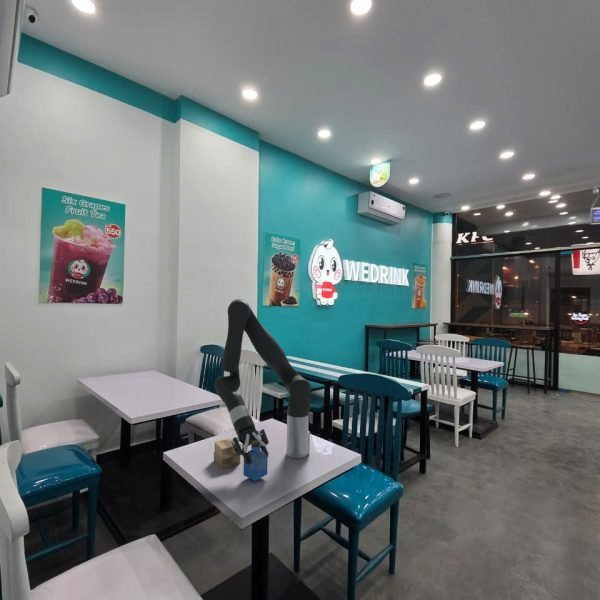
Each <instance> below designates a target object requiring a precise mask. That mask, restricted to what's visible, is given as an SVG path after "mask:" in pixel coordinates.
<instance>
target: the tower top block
mask: <svg viewBox="0 0 600 600" xmlns="http://www.w3.org/2000/svg"><path fill="white" fill-rule="evenodd" d="M233 438H234V437H230V438H226V439H221V440H217V441H214V451H213V453H214V452H215V453H216V454H217V455H218V456H219V457H220V458H221V459H225V458H229V457H233V456H237V454H236V452H235V449H234V447H233V445H232V443H231V441H232V440H233ZM239 445H240V447H241V448H242V443H241V442H240V443H239Z"/></svg>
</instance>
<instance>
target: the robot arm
mask: <svg viewBox="0 0 600 600" xmlns="http://www.w3.org/2000/svg"><path fill="white" fill-rule="evenodd" d="M227 320H228V321H227V322H228V323H227V325H228V327H227V336H226V341H225V346H224V351H223V356H222V361H221V369H222V370H223V371H224V372H225V373H226V372H227V373H229V375H225V376H219V377H217V378H216V379H215V380H214V390H215V393H216V394H217V395H218V397H219V398H220V399H221V400H222V402H223V403H224V405H225V406H226V409H227V411H228V413H229V418H230V421H231V424H232V426H233V429H234V432H235V434H236V435H237V437H236V436H235V437H232V438H233V440H232V441H231V443H232V445H233V447H234V449H235V452H236V454H237V455H238V456H239V455H240V456H242V457H243V461H244V460H245V463H246V464H247V465H250V464H251V463H252V461H251V459H250V456H249V454H248V453H247V452H248V448H249V446H250V447H251V445H252V441H255V440H257V441H260V445H261V447H260V450H262V451H264V453H265V454H266V456H267V458H269V451H268V449H267V445H268V444H270V442H269V441H270V440H269V439H268V437H267V434H266V431H265V429H262V428H261V430H257V428H256V426H255V423H254V420H253V418H252V416H251V413H250V411H249V408H248V407H247V405H246V403H245V400H244V398H243V396H242V395H241V394H239V393H236V392H237V391H238V390H239V389H240V387H241V379H240V378H241V377H240V362H241V355H242V349H243V348H242V347H243V346H242V345H243V339H244V338H243V337H244V332H245V333H246V335H247V337H248V338H249V341H250V343H251V344H252V346H253V348H254V350H255V351H256V352H257V354H258V355H259V356H260V358H261V359H262V360H263V362H264V363H265V364H266V365H267V366H268V367H269V368H270V369H271V370H272V371H273V372H274V373H275V374H276V375H277V377H278V378H279V380H280V382H282V384H283V386H284V388H285V389H286V391H287V393H288V394H289V405H288V406H287V409H286V411H287V412H286V414H287V415H286V416H287V417H286V452H285V453H286V456H287V457H288V458H290V459H303V458H306V457H307V456H308V455H310V454H311V453H310V449H311V446H310V445H311V443H310V442H311V432H310V431H309V414H310V413H309V411H310V409H311V397H312V396H311V395H312V393H311V392H312V389H311V384H310V382H309V381H308V380H307V379H306V378H305V377H303V376H302V375H300V373H298V372H297V370H295V369H294V367H293V366H292V365H291V363H290V361H289V360H288V358H287V355H286V353H285V352H284V350H283V348H282V347H281V345H280V344H279V343H278V342H277V340H276V339H275V338H274V337H273V335H272V334H271V333H270V332H269V331H268V330H267V329H266V327H265V326H263V324H262V323H261V322H260V321H259V319H258V318H257V315H255V313H254V311H253V309H252V308H251V306H250V304H249V303H248V301H246V300H245V299H242V298H241V299H240V298H238V299H233V300H232V301H231V302H230V303H229V305H228V306H227ZM239 442H240V444H241V447H240V445H239Z"/></svg>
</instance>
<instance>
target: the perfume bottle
mask: <svg viewBox="0 0 600 600" xmlns="http://www.w3.org/2000/svg"><path fill="white" fill-rule="evenodd" d="M260 447H261V445H260V441H257V440H255V441H252V445H250V450H247V453H248V454H249V456H250V459H251V461H252V463H251V464H250V465H247V464H246V463H245V460H244V459H243V473H242V474H243V476H244V477H246V478H249V479H250V480H252V481H254V482H255V481H257V480H259V479H261V478H264V477H266V475H268V458H269V457H267V456H266V454H265V453H264V451H262V450H261V449H260Z"/></svg>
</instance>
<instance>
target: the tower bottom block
mask: <svg viewBox="0 0 600 600" xmlns="http://www.w3.org/2000/svg"><path fill="white" fill-rule="evenodd" d="M214 461H215V462H216V463H217V466H218V467H219V468H220V469H221V470H222V469H223V470H224V469H225V468H226V469H227V468H229V466H230V467H233V466H236V465H235V464H237V465H239V463H240V464H241V455H239V456H238V455H237V456H233V457H229V458H225V459H221V458H220V457H219V456H218V455H217V454H216V453H215V452H214V451H213V462H214ZM215 462H214V463H215ZM216 463H215V464H216ZM232 465H233V466H232Z"/></svg>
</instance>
